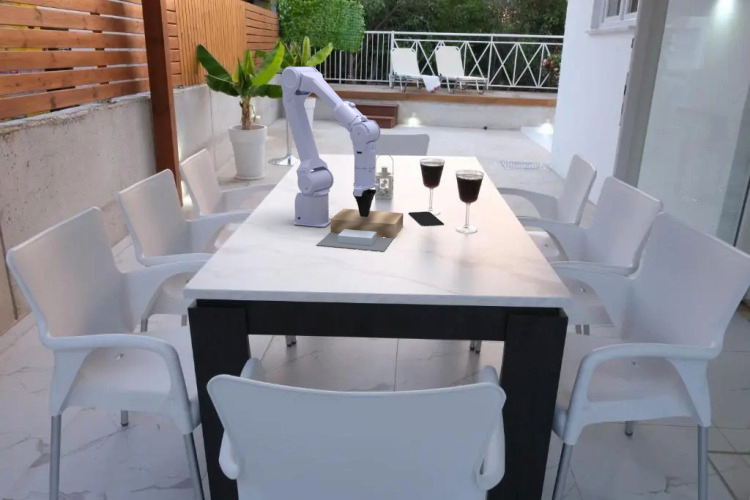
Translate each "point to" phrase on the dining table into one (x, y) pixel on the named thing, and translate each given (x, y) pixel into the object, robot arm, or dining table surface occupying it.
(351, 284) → the dining table surface
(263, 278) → the dining table surface
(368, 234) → the tile
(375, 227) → the tan flat wooden block
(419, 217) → the smartphone
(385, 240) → the mat
